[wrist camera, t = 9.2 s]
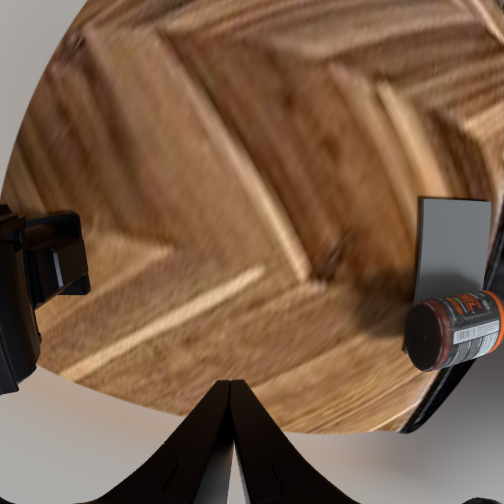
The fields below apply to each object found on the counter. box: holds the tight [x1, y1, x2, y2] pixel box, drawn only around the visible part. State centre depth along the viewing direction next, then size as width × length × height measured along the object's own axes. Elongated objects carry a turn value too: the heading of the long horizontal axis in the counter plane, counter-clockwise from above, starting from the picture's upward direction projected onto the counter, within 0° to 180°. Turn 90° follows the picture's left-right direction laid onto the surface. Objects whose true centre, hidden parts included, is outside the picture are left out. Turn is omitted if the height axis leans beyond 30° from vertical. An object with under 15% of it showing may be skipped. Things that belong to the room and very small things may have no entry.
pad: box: [404, 198, 491, 354], centre depth 22 cm, size 9×14×1 cm, turn 3°
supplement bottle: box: [405, 291, 504, 372], centre depth 20 cm, size 6×6×11 cm
